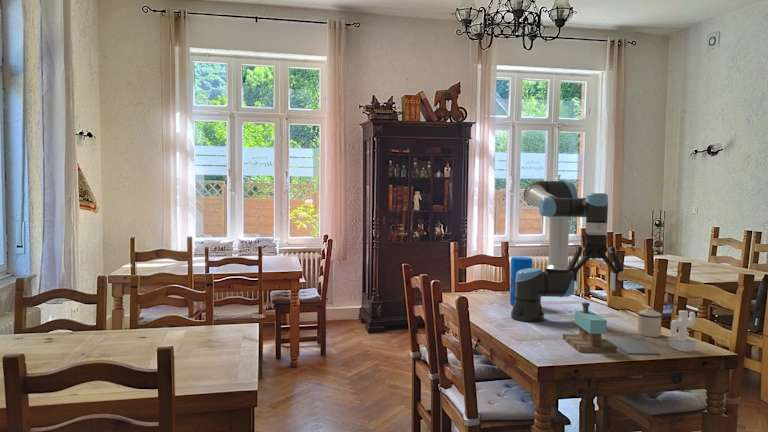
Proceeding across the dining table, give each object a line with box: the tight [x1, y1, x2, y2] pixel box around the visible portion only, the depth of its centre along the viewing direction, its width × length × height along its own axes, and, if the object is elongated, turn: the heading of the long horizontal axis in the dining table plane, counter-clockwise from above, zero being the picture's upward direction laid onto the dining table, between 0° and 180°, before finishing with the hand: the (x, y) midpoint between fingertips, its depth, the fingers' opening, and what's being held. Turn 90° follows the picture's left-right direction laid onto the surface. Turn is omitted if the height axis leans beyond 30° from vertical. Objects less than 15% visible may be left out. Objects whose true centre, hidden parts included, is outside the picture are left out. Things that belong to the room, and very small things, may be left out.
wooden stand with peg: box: [562, 301, 618, 353], centre depth 206 cm, size 18×14×16 cm
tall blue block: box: [509, 256, 533, 307], centre depth 279 cm, size 11×11×25 cm
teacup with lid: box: [637, 306, 663, 338], centre depth 225 cm, size 12×9×12 cm
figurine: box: [667, 310, 698, 352], centre depth 202 cm, size 7×9×15 cm
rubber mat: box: [604, 337, 661, 356], centre depth 206 cm, size 20×12×1 cm, turn 0°
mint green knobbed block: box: [574, 310, 608, 335], centre depth 205 cm, size 16×6×5 cm, turn 0°
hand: (594, 290), depth 202 cm, fingers open, 13 cm apart
